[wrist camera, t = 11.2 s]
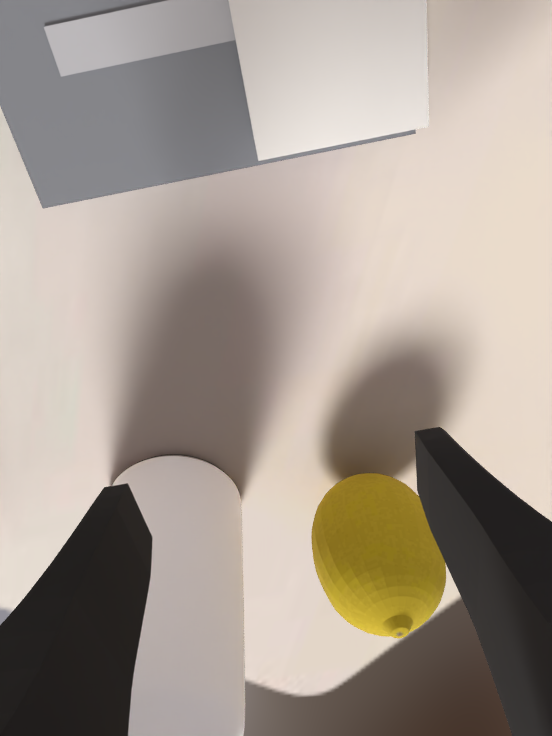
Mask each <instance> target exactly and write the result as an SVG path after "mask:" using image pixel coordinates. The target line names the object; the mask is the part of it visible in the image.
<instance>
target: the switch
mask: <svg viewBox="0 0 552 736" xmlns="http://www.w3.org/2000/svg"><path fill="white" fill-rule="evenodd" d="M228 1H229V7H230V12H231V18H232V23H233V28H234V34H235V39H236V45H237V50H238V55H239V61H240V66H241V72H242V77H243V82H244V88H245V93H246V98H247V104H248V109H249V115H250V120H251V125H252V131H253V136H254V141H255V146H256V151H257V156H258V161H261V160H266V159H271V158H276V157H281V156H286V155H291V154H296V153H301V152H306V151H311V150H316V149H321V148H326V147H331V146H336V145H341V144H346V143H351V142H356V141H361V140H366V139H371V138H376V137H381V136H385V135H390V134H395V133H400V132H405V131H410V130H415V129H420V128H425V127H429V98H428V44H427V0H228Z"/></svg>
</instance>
